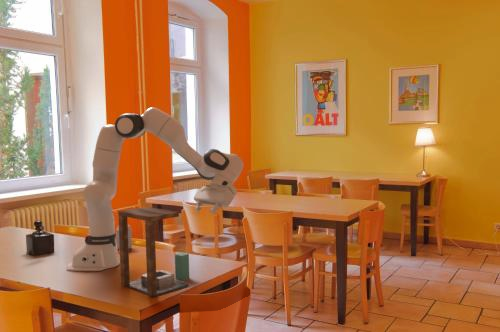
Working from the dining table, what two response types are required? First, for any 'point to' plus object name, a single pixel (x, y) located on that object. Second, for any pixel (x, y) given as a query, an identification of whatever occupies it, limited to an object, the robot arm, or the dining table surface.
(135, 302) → the dining table surface
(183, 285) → the socket
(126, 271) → the open wooden frame
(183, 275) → the post
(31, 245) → the black block with knob
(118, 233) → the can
